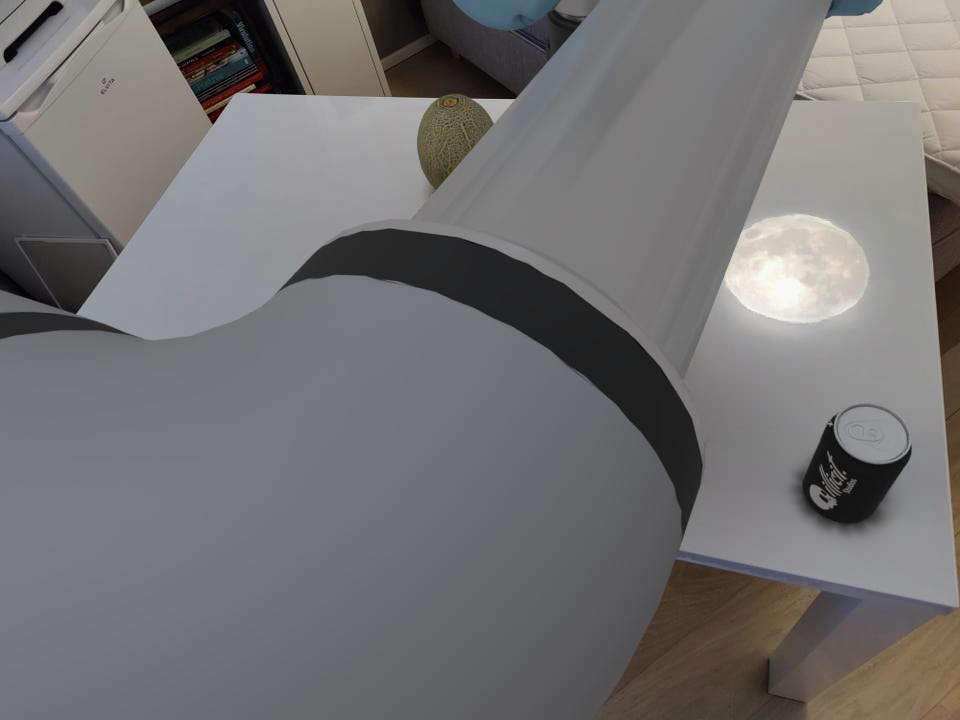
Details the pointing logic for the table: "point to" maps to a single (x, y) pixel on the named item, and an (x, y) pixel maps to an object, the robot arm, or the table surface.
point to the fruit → (449, 135)
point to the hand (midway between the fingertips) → (606, 224)
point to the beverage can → (857, 462)
